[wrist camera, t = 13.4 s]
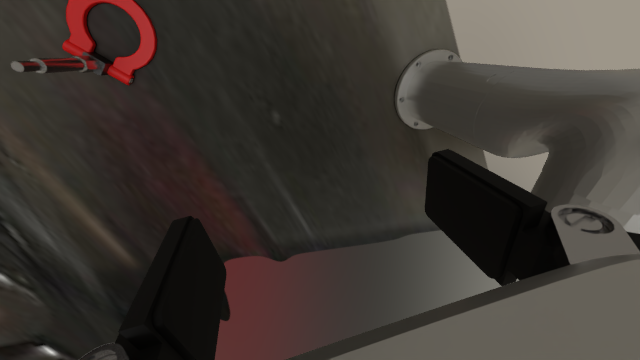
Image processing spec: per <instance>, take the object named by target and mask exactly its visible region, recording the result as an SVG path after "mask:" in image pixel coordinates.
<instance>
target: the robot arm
mask: <svg viewBox="0 0 640 360" xmlns="http://www.w3.org/2000/svg"><path fill="white" fill-rule="evenodd" d="M416 63H417V65H416ZM399 99H400V100H399ZM395 108H396V111H397V114H398V116H399V117H400V119H401V120H402V121H403V122H404V123H405V124H406V125H408V126H410V127H412V128H414V129H420V130H423V129H430V128H433V127H435V128H437V129H439V130H441V131H443V132H446V133H448V134H450V135H452V136H454V137H456V138H459V139H461V140H463V141H465V142H467V143H470V144H472V145H474V146H476V147H478V148H481V149H483V150H485V151H487V152H490V153H492V154H494V155H497V156H501V157H507V158H520V157H528V156H533V155H537V154H541V153H545V152H549V154H548V158H547V160H546V162H545V165H544V167H543V169H542V172H541V174H540V176H539V178H538V180H537V181H536V183H535V185H534V187H533V189H532V191H531V193H530V192H528V191H526V190H524V189H523V188H521V187H519V186H517V185H515V184H513V183H511V182H509V181H507V180H506V179H504V178H502V177H500V176H498V175H496V174H495V173H493V172H491V171H489V170H487V169H485V168H483V167H482V166H480V165H478V164H476V163H474V162H472V161H470V160H468V159H467V158H465V157H463V156H461V155H459V154H457V153H455V152H454V151H452V150H449V149H446V150H442V151H438V152H434V153H433V154H432V157H430V158H429V161H428V174H427V187H426V199H425V212H426V214H427V216H428V217H429V218H430V219H431V220H432V221H433V222H434V223H435V224H436V225H437V226H438V227H439V228H440V229H441V230H442V231H443V232H444V233H445V234H446V235H447V236H448V237H449V238H450V239H451V240H452V241H453V242H454V243H455V244H456V245H457V246H458V247H459V248H460V249H461V250H462V251H463V252H464V253H465V254H466V255H467V256H468V257H469V258H470V259H471V260H472V261H473V262H474V263H475V264H476V265H477V266H478V267H479V268H480V269H481V270H482V271H483V272H484V273H485V274H486V275H487V276H488V277H490V278H494V279H495V280H496V281H497V282H498V283H499V284H500V285H501V286H502V287H499V288H496V289H493V290H490V291H487V292H484V293H481V294H478V295H475V296H472V297H469V298H466V299H463V300H460V301H457V302H454V303H451V304H448V305H445V306H442V307H439V308H436V309H433V310H430V311H427V312H424V313H421V314H418V315H415V316H412V317H409V318H406V319H403V320H400V321H397V322H394V323H391V324H388V325H386V326H382V327H380V328H376V329H374V330H371V331H368V332H365V333H362V334H359V335H356V336H353V337H350V338H347V339H344V340H341V341H338V342H335V343H333V344H330V345H327V346H324V347H321V348H318V349H315V350H312V351H309V352H306V353H303V354H301V355H298V356H295V357H292V358H289V359H286V360H640V69H628V70H589V71H585V70H560V69H541V68H529V67H516V66H502V65H490V64H489V65H488V64H476V63H463V62H462V60H461V59H460V57H459V56H457V55H456V54H455V53H453V52H451V51H449V50H443V49H437V50H431V51H427V52H425V53H423V54H421V55H419V56H418V57H416V58H415V59H414V60H413V61H412V62H411V63H410V64H409V65H408V66H407V67H406V69H405V70H404V71H403V73H402V75H401V77H400V79H399V81H398V84H397V87H396V92H395ZM516 279H519V280H520V281H517V282H516ZM225 281H226V269H225V266H224V264H223V262H222V260H221V258H220V256H219V255H218V253H217V251H216V249H215V247H214V246H213V244H212V242H211V240H210V238H209V236H208V235H207V233H206V231H205V229H204V227H203V226H202V224H201V222H200V220H199V219H197V218H196V219H194V218H193V217H192V216H188V217H185V218H181V219H177V220H174V221H173V222H172V223H171V225H170V228H169V230H168V232H167V234H166V236H165V238H164V240H163V242H162V244H161V246H160V248H159V250H158V252H157V254H156V256H155V258H154V260H153V262H152V264H151V266H150V268H149V270H148V272H147V274H146V276H145V278H144V280H143V282H142V285H141V287H140V289H139V291H138V293H137V295H136V297H135V299H134V301H133V303H132V305H131V307H130V309H129V311H128V313H127V315H126V317H125V319H124V321H123V323H122V325H121V327H120V329H119V331H118V332H119V336H118V338H117V340H116V342H115V343H109V344H105V345H102V346H100V347H98V348H96V349H93V350H92V351H90V352H89V353H87V354H86V355H84V356H83V357H81V358H80V359H79V360H214V359H215V352H216V345H217V338H218V331H219V323H220V317H221V309H222V302H223V295H224V288H225ZM513 282H514V283H513ZM510 283H511V284H510ZM507 284H508V285H507ZM504 285H505V286H504Z"/></svg>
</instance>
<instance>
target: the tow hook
mask: <svg viewBox="0 0 640 360" xmlns="http://www.w3.org/2000/svg"><path fill="white" fill-rule="evenodd" d="M101 3H109V4H114V5H117V6H119V7H120V8H122V9H123V10H125V11H126V12H127V13H128V14H129V15H130V16H131V17H132V18H133V19H134V21H135V22H136V24H137V26H138V28H139V31H140V35H141V43H140V46H139V49H138V50H137V51H136V52H135V53H134V54H132V55H130V56H127V57H117V58H116V59H115V61H114V63H112V62H110V61H109V60H107V59H105V58H103V57H102V56H100V55H98V54H96V53H95V52H93V51H94V49H95V46H96V43H95V41H94V40H93V39H92V37H91V35H90V33H89V31H88V28H87V15H88V12H89V11H90V9H91V8H92V7H94V6H95V5H97V4H101ZM66 20H67V24H68V27H69V30H70V33H71V36H70V38H69V39H68V40H66V41H65V42H64V43H63V50H65V51H67V52H68V53H70V54H72V55H74V57H72V58H32V59H30V60H29V61H13V62H11V67H12V68H13V69H14V70H15V71H17V72H30V71H35V72H37V73H54V72H68V71H78V72H80V73H85V72H94V73H96V74H98V75H110V76H112V77H114V78H116V79H118V80H119V81H121V82H123V83H125V84H127V85H130V84H131V83H132V82H133V80H134V76H133V73H134V71H135V69H140V68H142V67H144V66H145V65H147V64H148V63H149V62H150V61H151V60H152V59H153V57H154V54H155V52H156V47H157V38H156V32H155V29H154V27H153V24H152V22H151V20H150V18H149V17H148V15H147V14H146V13H145V11H144V10H143V9H142V8H141V7H140V6H139V5H138V4H137V3H136V2H135V1H134V0H69V1H68V4H67V8H66Z"/></svg>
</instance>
